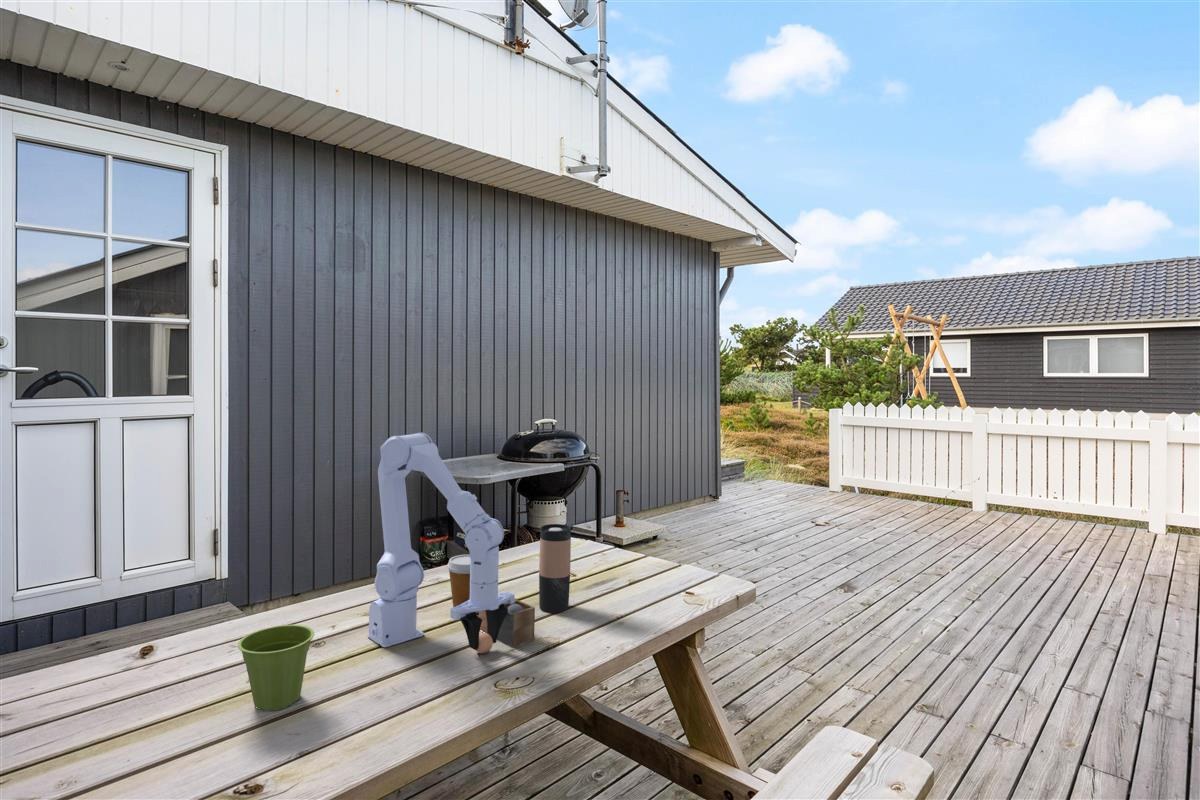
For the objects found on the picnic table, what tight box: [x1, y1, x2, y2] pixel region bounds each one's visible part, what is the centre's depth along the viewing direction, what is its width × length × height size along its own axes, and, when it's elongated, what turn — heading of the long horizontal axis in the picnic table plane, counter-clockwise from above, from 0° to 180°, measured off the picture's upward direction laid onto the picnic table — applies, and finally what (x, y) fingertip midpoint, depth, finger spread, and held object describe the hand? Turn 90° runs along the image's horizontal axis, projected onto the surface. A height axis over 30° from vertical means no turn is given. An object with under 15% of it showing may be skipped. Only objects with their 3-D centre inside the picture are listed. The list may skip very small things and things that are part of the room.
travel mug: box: [538, 523, 572, 614], centre depth 159 cm, size 8×8×20 cm
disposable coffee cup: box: [446, 554, 470, 608], centre depth 158 cm, size 10×10×12 cm
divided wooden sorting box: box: [478, 593, 536, 648], centre depth 143 cm, size 6×12×7 cm, turn 46°
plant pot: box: [237, 624, 315, 711], centre depth 112 cm, size 12×12×11 cm
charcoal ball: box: [508, 604, 523, 613], centre depth 140 cm, size 4×4×4 cm
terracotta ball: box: [475, 632, 494, 654], centre depth 133 cm, size 4×4×4 cm
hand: (482, 644), depth 133 cm, fingers closed on terracotta ball, 4 cm apart
